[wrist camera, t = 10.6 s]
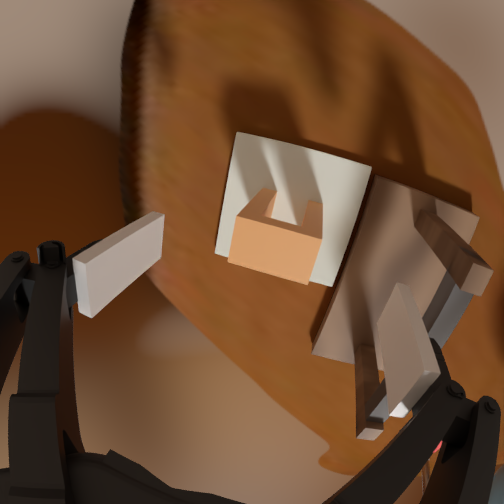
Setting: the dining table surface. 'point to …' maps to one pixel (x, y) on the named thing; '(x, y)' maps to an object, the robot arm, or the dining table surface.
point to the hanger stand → (402, 271)
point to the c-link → (276, 239)
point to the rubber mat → (296, 193)
